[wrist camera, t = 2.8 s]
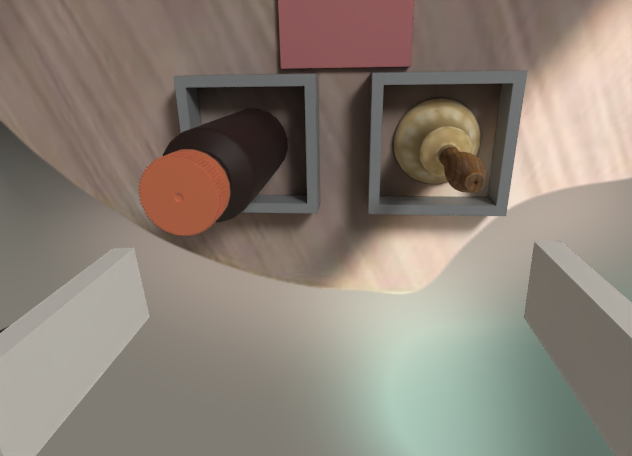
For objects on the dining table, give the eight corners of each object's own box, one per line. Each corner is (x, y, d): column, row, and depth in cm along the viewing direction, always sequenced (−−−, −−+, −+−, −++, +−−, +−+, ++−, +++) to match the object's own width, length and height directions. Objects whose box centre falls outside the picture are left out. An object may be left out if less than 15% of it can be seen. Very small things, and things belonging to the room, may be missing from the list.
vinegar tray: (185, 75, 42) (173, 76, 39) (318, 73, 40) (315, 73, 38) (200, 203, 46) (190, 211, 43) (320, 204, 45) (317, 213, 42)
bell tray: (371, 72, 40) (372, 73, 37) (515, 70, 39) (527, 70, 36) (367, 205, 45) (368, 214, 42) (496, 206, 43) (505, 216, 41)
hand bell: (417, 197, 44) (448, 264, 29) (378, 127, 42) (389, 159, 27) (494, 156, 42) (570, 205, 27) (457, 80, 40) (517, 87, 25)
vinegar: (252, 93, 42) (168, 112, 23) (302, 142, 43) (260, 199, 24) (209, 142, 44) (99, 196, 25) (258, 188, 45) (187, 272, 26)
